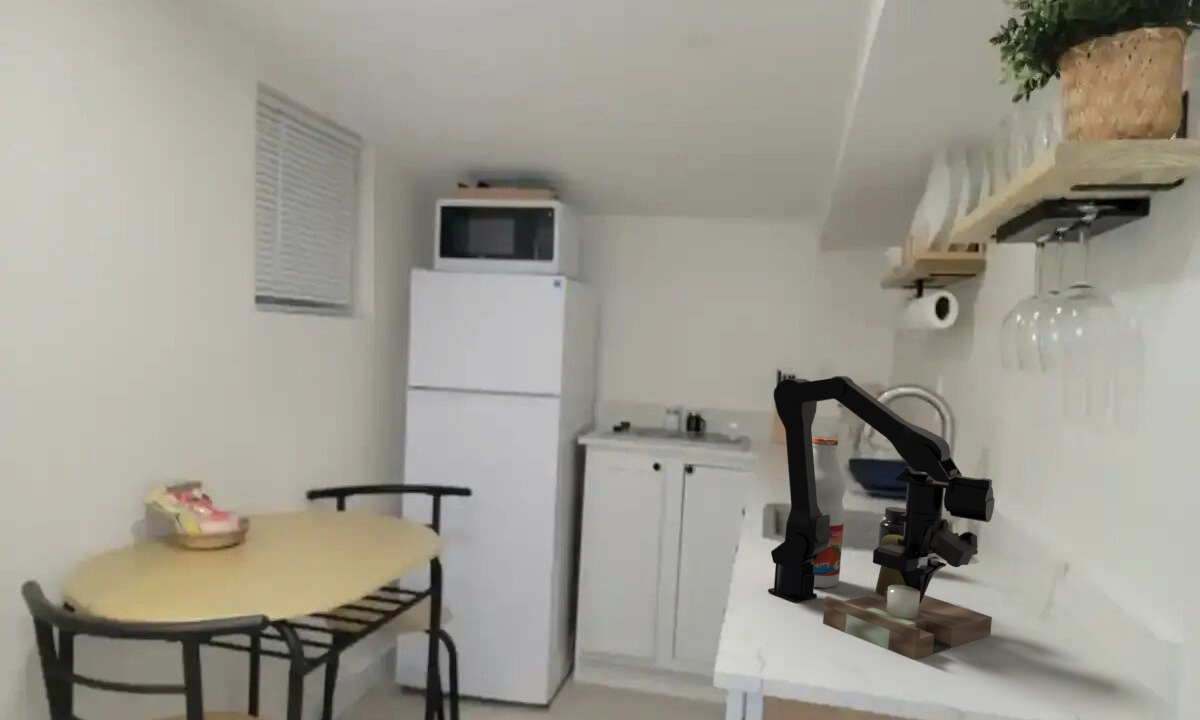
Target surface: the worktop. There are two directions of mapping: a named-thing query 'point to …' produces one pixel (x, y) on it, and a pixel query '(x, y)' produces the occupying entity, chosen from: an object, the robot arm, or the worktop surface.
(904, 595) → the white short cylinder
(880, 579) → the cork
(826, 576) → the fruit juice
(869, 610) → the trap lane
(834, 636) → the worktop surface
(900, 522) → the supplement bottle
